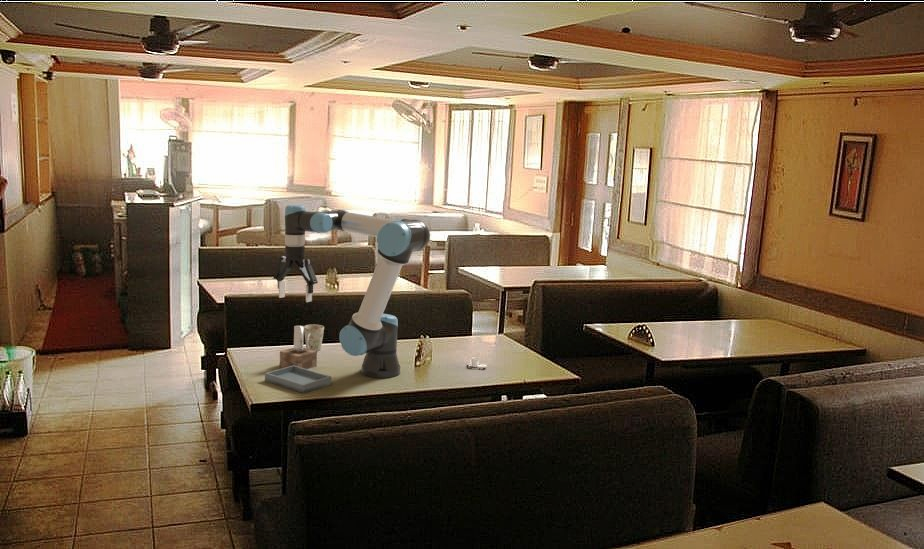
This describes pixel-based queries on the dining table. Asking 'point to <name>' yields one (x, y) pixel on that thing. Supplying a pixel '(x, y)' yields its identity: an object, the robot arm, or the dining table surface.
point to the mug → (313, 336)
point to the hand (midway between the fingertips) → (295, 299)
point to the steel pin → (298, 339)
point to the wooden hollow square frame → (298, 358)
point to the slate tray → (298, 379)
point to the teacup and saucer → (476, 363)
